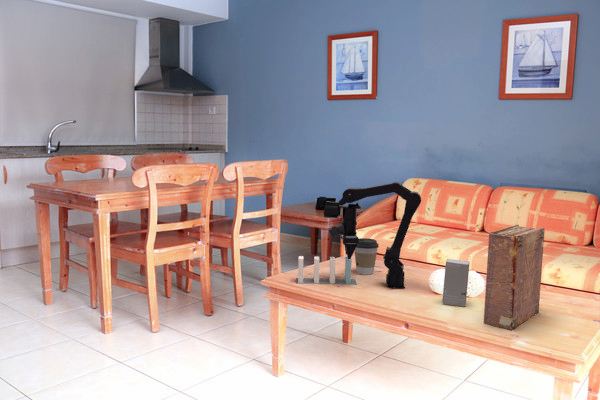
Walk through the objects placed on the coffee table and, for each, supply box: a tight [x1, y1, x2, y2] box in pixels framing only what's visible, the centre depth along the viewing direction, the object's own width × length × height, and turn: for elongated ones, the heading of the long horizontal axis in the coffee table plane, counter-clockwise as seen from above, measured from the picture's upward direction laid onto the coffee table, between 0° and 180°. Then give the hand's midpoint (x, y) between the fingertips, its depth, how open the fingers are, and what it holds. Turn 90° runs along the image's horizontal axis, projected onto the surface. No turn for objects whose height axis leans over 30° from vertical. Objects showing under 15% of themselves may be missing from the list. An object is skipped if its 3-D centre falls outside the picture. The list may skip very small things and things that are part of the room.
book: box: [483, 224, 545, 331], centre depth 176 cm, size 25×9×30 cm, turn 138°
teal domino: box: [344, 256, 352, 284], centre depth 217 cm, size 2×5×10 cm, turn 0°
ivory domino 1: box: [313, 255, 320, 283], centre depth 217 cm, size 2×5×10 cm, turn 0°
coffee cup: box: [354, 237, 379, 276], centre depth 232 cm, size 11×11×15 cm
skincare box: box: [441, 258, 471, 308], centre depth 191 cm, size 8×7×16 cm
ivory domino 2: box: [328, 256, 336, 285], centre depth 216 cm, size 2×5×10 cm, turn 0°
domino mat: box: [295, 277, 358, 286], centre depth 218 cm, size 25×8×1 cm, turn 90°
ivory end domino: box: [297, 255, 305, 283], centre depth 217 cm, size 2×5×10 cm, turn 0°
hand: (348, 256), depth 216 cm, fingers open, 9 cm apart
